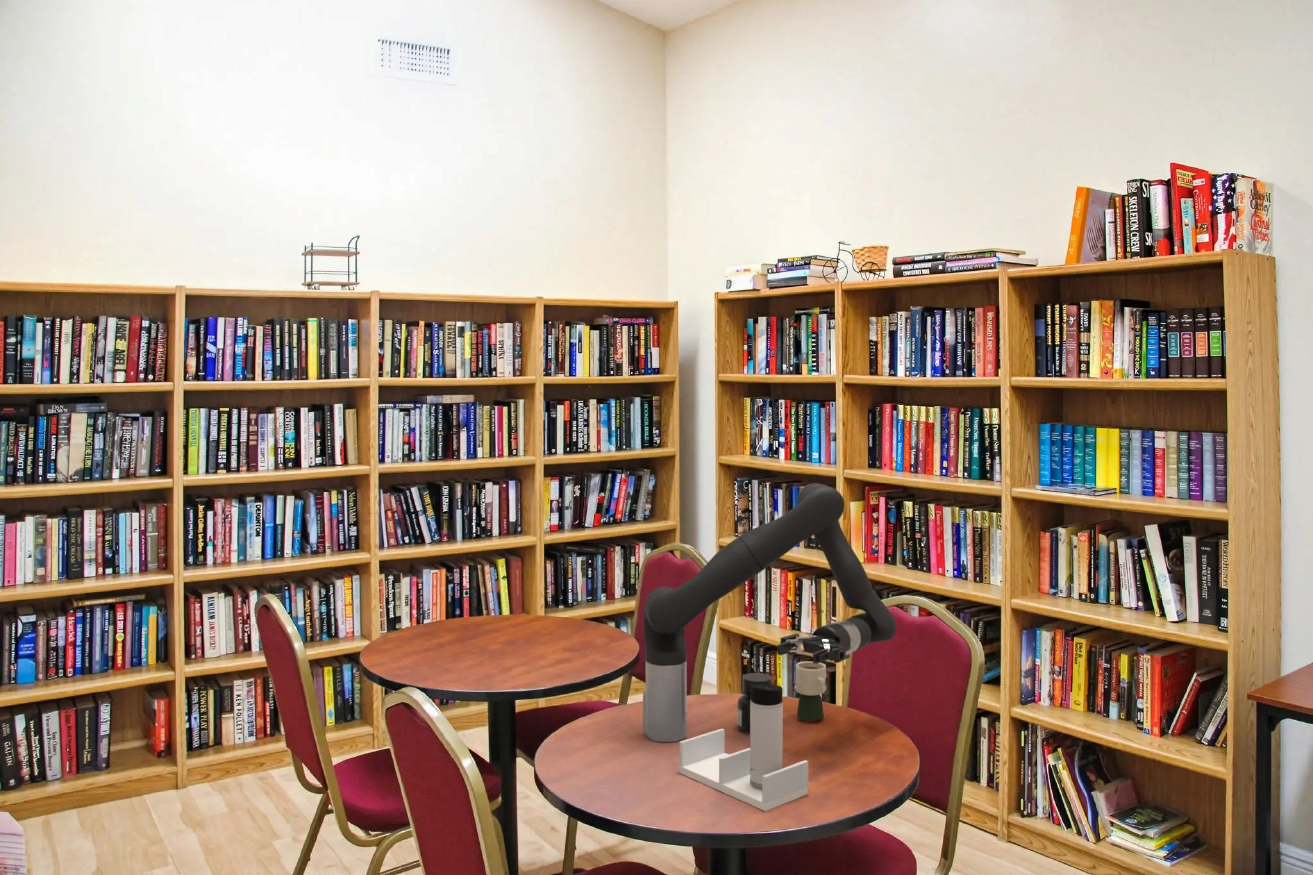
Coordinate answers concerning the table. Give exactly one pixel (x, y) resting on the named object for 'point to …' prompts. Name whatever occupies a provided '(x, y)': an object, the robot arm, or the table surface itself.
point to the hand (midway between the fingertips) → (796, 654)
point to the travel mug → (765, 731)
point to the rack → (739, 772)
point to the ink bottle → (748, 698)
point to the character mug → (810, 690)
